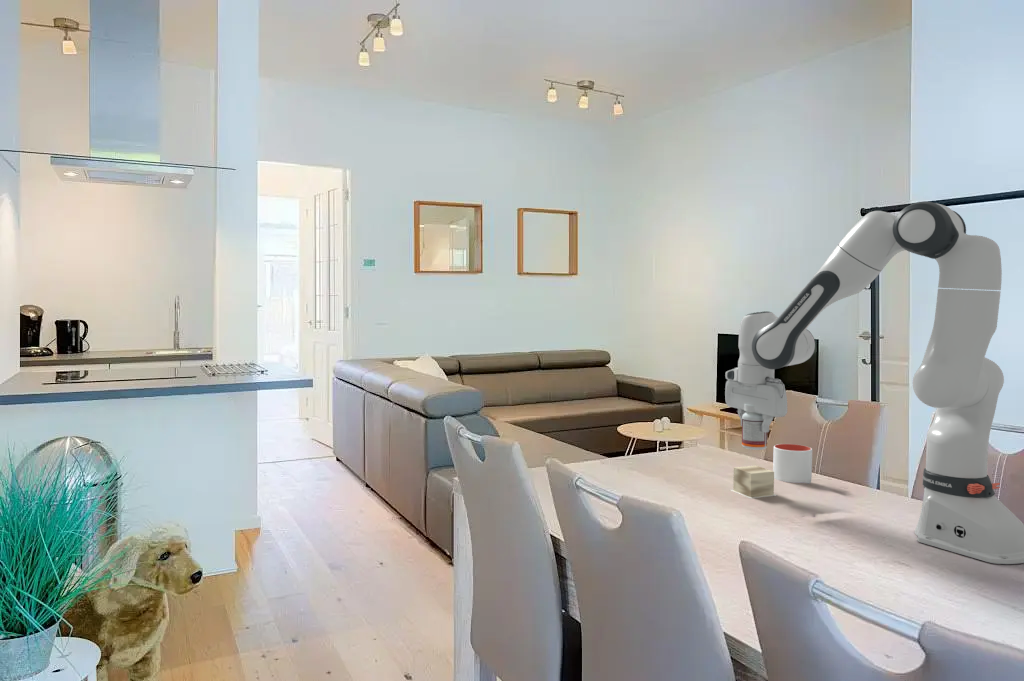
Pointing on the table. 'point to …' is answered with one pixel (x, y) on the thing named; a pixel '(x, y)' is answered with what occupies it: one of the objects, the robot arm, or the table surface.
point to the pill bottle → (753, 429)
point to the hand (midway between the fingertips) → (754, 429)
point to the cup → (792, 463)
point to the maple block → (753, 481)
